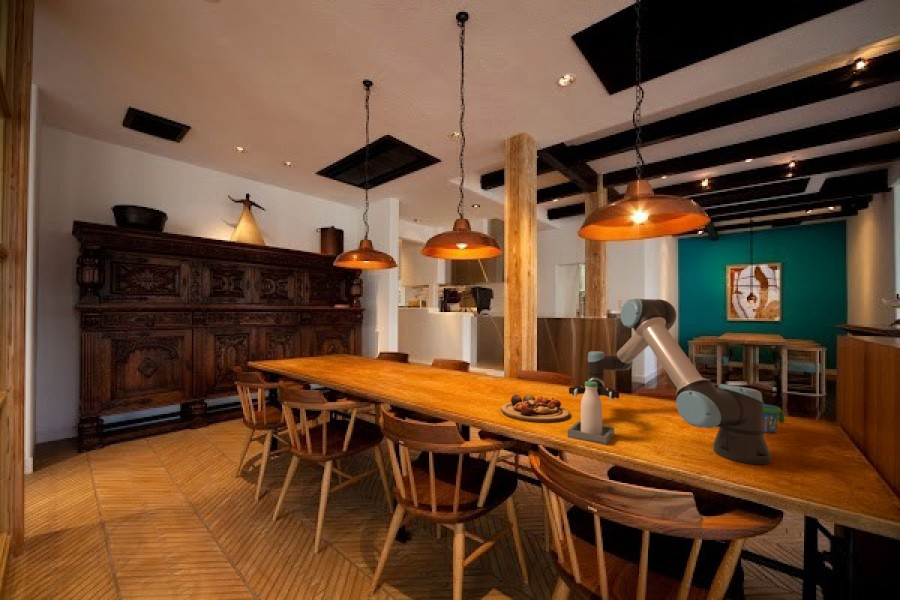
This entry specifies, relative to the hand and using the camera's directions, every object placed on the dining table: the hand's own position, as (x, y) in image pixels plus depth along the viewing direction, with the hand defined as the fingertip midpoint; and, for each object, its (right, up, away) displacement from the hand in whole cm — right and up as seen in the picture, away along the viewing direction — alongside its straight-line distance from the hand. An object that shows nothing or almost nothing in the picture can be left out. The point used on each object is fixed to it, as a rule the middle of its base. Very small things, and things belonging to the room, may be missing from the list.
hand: (592, 396), depth 148 cm
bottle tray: (-4, -13, -9) cm, 16 cm away
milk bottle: (-4, -12, -8) cm, 15 cm away
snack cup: (+71, -14, 0) cm, 72 cm away
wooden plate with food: (-18, -15, +24) cm, 33 cm away
